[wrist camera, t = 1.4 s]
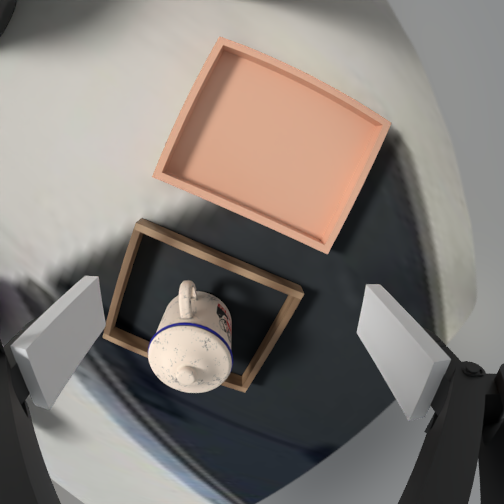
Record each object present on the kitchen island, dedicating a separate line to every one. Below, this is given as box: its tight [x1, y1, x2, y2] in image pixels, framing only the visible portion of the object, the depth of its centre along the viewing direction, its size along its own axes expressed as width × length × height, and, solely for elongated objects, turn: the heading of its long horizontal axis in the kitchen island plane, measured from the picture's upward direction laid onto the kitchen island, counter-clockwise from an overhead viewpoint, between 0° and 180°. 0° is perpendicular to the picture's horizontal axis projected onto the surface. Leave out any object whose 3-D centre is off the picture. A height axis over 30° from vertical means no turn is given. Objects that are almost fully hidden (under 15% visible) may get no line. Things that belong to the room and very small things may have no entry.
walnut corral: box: [103, 218, 304, 392], centre depth 38 cm, size 21×17×2 cm
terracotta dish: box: [152, 37, 391, 254], centre depth 32 cm, size 21×17×3 cm
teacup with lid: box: [148, 281, 233, 393], centre depth 33 cm, size 12×9×12 cm
